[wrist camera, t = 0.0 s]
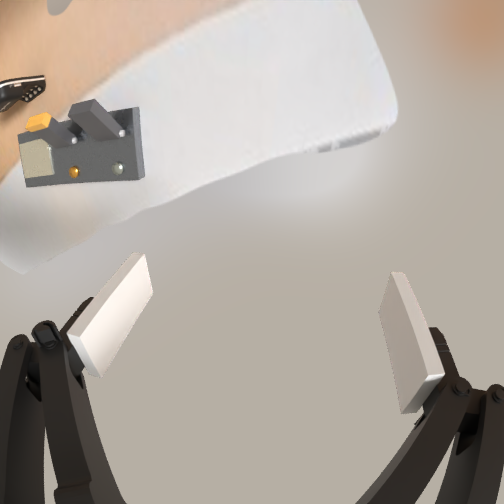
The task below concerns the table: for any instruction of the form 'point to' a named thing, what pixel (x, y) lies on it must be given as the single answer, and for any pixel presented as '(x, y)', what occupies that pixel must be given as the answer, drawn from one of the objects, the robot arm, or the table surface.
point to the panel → (85, 155)
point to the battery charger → (20, 90)
